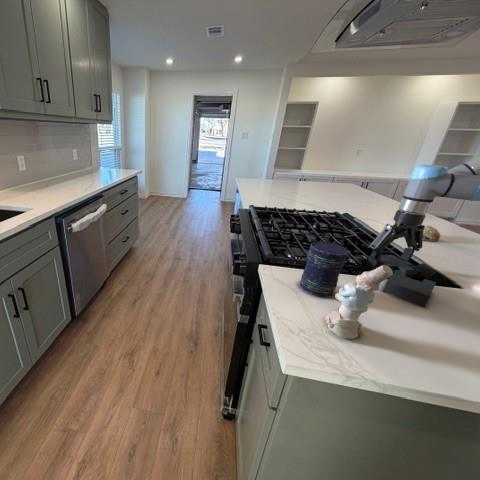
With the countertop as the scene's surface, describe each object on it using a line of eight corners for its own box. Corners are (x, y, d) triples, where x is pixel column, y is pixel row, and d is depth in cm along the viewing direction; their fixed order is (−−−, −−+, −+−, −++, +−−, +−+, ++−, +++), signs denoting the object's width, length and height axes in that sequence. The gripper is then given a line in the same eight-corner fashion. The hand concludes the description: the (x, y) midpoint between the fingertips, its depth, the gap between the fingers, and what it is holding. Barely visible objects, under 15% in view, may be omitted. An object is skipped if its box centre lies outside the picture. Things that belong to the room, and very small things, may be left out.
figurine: (369, 343, 62) (402, 272, 54) (332, 338, 63) (359, 268, 55) (351, 319, 70) (377, 254, 62) (318, 314, 71) (340, 250, 63)
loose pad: (387, 263, 100) (391, 254, 99) (418, 278, 90) (422, 268, 89) (365, 264, 99) (369, 255, 97) (394, 280, 89) (398, 270, 87)
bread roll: (408, 243, 128) (415, 232, 123) (408, 230, 134) (416, 219, 128) (435, 248, 123) (444, 237, 118) (434, 234, 129) (443, 223, 123)
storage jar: (299, 277, 89) (310, 238, 83) (331, 285, 85) (345, 244, 79) (299, 292, 81) (311, 250, 75) (335, 301, 77) (351, 257, 71)
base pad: (430, 292, 82) (436, 282, 81) (424, 307, 75) (430, 296, 74) (391, 279, 89) (395, 269, 88) (382, 291, 82) (387, 281, 81)
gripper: (429, 208, 92) (404, 259, 101) (370, 209, 88) (350, 262, 97) (454, 214, 85) (425, 268, 94) (391, 215, 82) (367, 272, 90)
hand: (387, 265), depth 96 cm, fingers open, 13 cm apart
